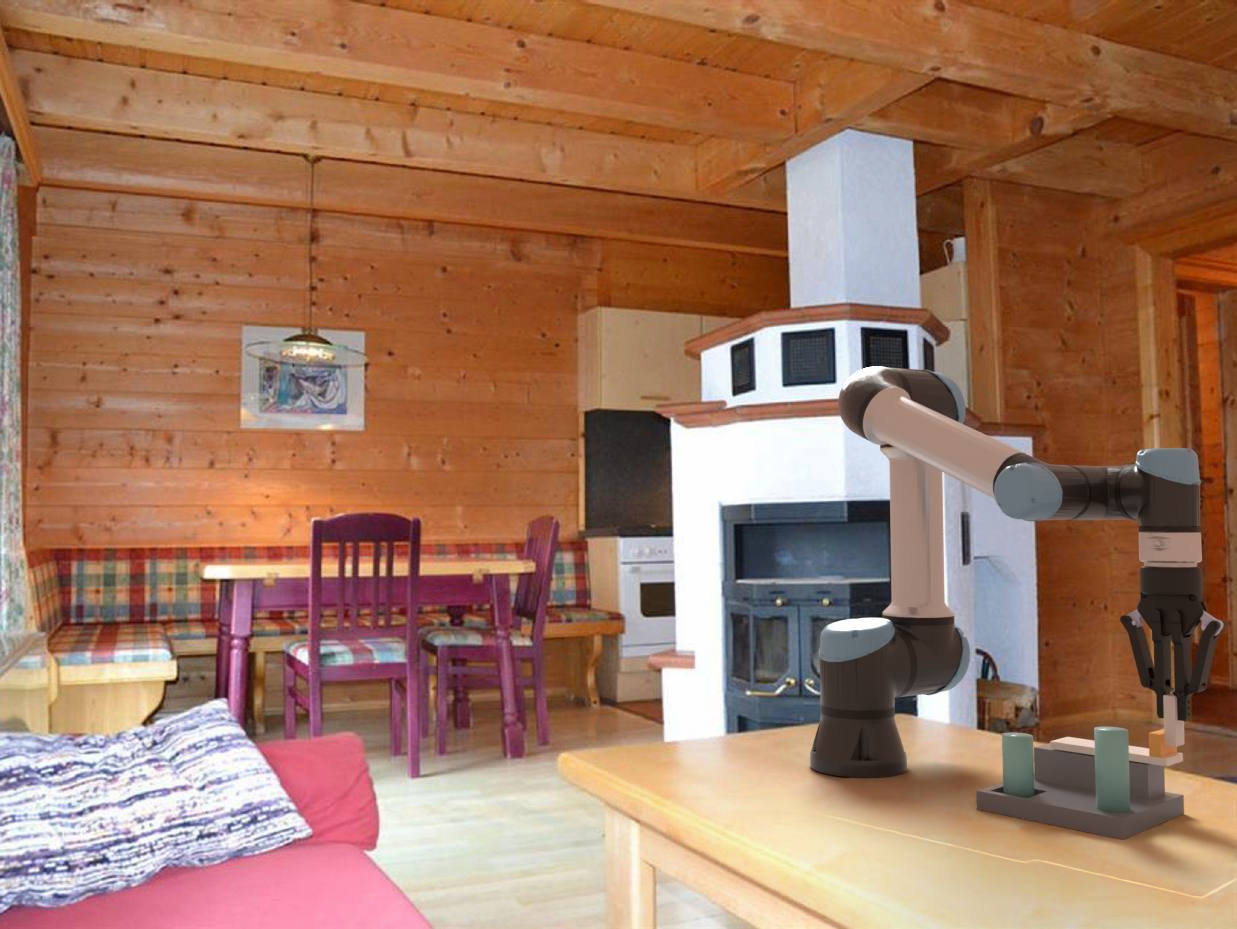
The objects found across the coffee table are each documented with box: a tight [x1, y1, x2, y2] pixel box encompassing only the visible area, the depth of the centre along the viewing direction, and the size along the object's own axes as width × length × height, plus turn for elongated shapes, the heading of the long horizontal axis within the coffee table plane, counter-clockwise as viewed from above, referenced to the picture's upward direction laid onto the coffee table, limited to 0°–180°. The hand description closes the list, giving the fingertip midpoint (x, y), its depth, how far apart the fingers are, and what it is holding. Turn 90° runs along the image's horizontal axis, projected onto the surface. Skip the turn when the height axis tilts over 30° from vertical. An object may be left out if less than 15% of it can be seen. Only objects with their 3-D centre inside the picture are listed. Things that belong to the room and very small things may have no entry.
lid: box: [1049, 728, 1184, 767], centre depth 156 cm, size 16×5×4 cm, turn 42°
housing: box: [975, 726, 1185, 840], centre depth 154 cm, size 20×18×12 cm
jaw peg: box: [1001, 732, 1034, 798], centre depth 155 cm, size 4×4×10 cm
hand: (1174, 744), depth 150 cm, fingers closed
